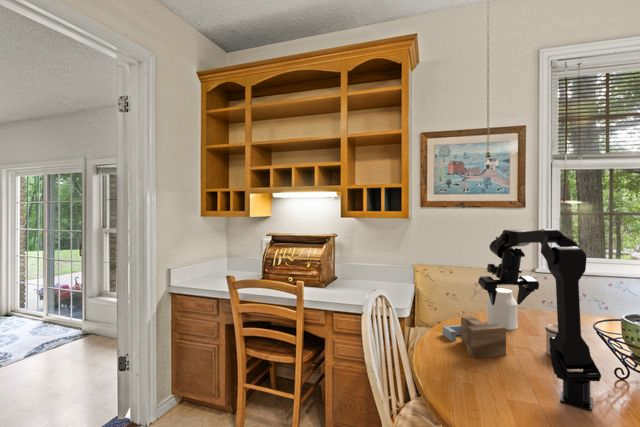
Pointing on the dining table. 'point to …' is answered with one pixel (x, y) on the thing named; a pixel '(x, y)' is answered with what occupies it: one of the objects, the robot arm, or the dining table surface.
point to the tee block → (483, 338)
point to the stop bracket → (451, 332)
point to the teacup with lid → (550, 334)
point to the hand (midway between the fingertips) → (505, 304)
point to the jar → (503, 309)
